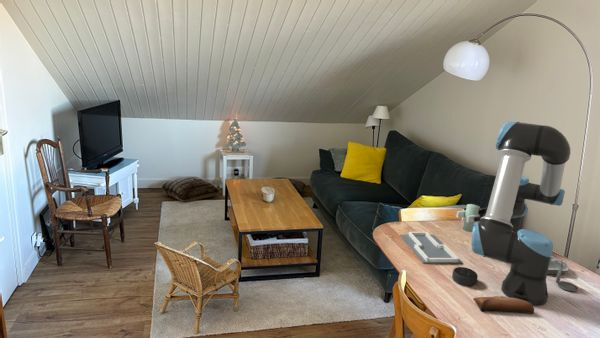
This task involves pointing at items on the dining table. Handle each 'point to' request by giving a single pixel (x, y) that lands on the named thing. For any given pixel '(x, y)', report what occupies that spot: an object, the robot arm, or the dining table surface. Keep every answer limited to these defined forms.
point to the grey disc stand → (564, 284)
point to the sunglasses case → (503, 304)
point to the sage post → (470, 210)
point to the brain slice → (556, 266)
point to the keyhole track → (429, 248)
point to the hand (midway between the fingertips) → (462, 217)
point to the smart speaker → (464, 276)
